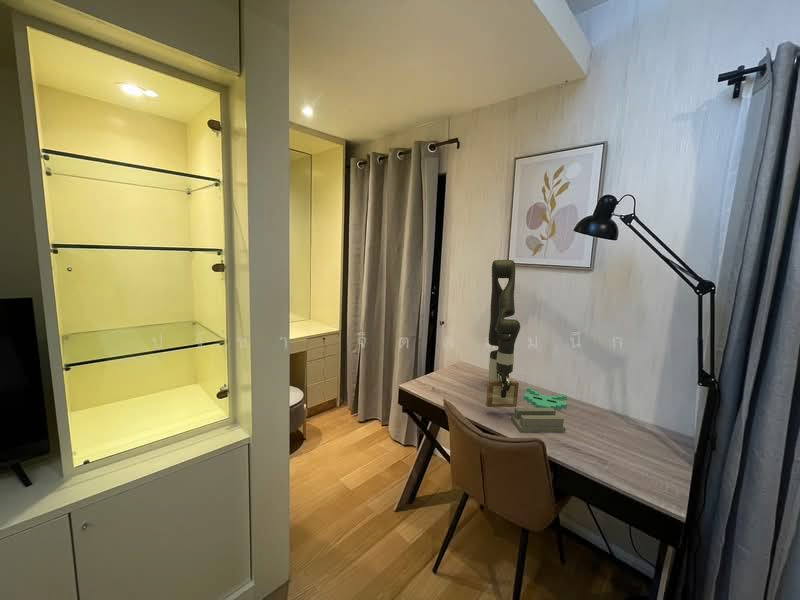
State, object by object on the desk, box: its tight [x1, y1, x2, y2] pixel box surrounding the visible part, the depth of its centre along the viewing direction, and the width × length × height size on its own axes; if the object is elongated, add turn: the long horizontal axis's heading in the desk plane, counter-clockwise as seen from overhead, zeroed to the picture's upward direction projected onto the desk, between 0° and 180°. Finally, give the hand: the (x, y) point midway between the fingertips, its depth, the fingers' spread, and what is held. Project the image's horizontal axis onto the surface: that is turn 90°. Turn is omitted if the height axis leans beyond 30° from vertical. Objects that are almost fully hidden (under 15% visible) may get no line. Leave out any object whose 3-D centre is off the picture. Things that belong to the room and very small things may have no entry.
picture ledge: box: [510, 407, 567, 433], centre depth 152 cm, size 11×20×6 cm, turn 93°
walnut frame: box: [485, 380, 520, 408], centre depth 160 cm, size 3×14×12 cm, turn 93°
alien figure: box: [523, 386, 568, 411], centre depth 177 cm, size 20×2×20 cm
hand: (502, 395), depth 160 cm, fingers closed on walnut frame, 2 cm apart
